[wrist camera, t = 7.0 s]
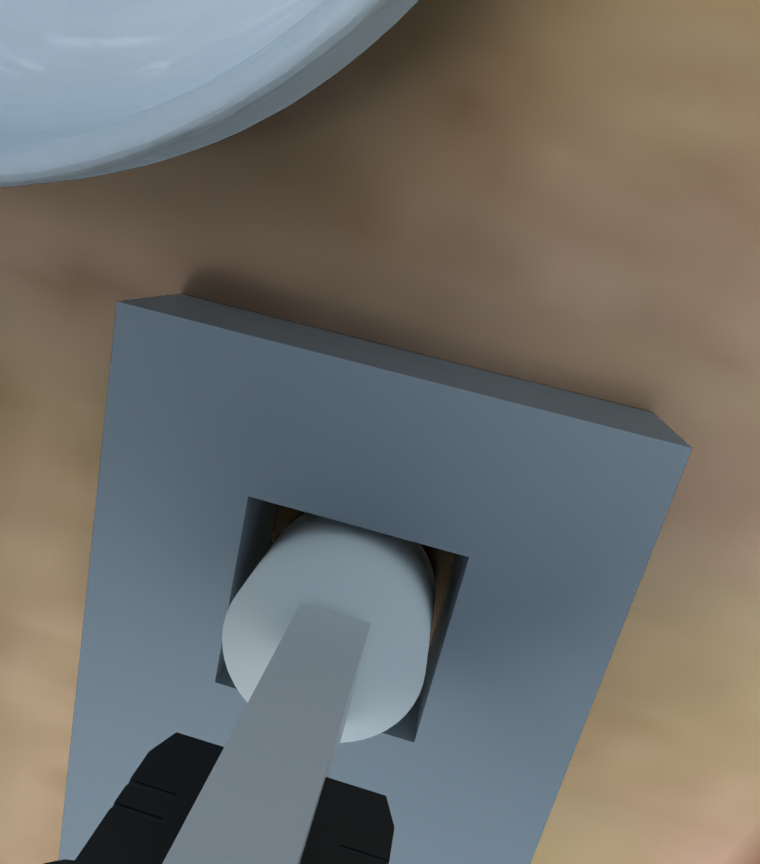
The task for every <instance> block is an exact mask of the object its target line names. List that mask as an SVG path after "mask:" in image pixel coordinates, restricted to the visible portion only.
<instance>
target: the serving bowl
mask: <svg viewBox="0 0 760 864" xmlns="http://www.w3.org/2000/svg"><path fill="white" fill-rule="evenodd" d="M418 1H419V0H0V187H10V186H21V185H30V184H39V183H48V182H57V181H66V180H75V179H83V178H89V177H94V176H100V175H105V174H111V173H115V172H120V171H124V170H129V169H133V168H138V167H142V166H147V165H151V164H154V163H157V162H160V161H164V160H167V159H170V158H173V157H176V156H179V155H182V154H185V153H188V152H191V151H194V150H197V149H199V148H202V147H205V146H208V145H210V144H213V143H216V142H218V141H220V140H223V139H225V138H227V137H229V136H232V135H234V134H236V133H238V132H241V131H243V130H245V129H247V128H249V127H250V126H252V125H254V124H256V123H258V122H260V121H262V120H264V119H266V118H267V117H269V116H271V115H273V114H275V113H277V112H279V111H281V110H283V109H284V108H286V107H288V106H290V105H291V104H293V103H294V102H296V101H297V100H299V99H300V98H302V97H303V96H305V95H306V94H308V93H309V92H311V91H312V90H314V89H315V88H316V87H318V86H319V85H321V84H322V83H324V82H325V81H327V80H328V79H329V78H331V77H332V76H334V75H335V74H336V73H338V72H339V71H340V70H341V69H343V68H344V67H345V66H346V65H348V64H349V63H350V62H351V61H353V60H354V59H355V58H357V57H358V56H359V55H360V54H362V53H363V52H364V51H365V50H367V49H368V48H369V47H370V46H371V45H372V44H373V43H374V42H376V41H377V40H378V39H379V38H380V37H381V36H382V35H383V34H385V33H386V32H387V31H388V30H389V29H390V28H391V27H392V26H393V25H395V24H396V23H397V22H398V21H399V20H400V19H401V18H402V17H403V16H404V15H405V14H406V13H407V12H408V11H409V10H410V9H411V8H412V7H413V6H414V5H415V4H416V3H417V2H418Z"/></svg>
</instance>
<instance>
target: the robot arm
mask: <svg viewBox="0 0 760 864" xmlns="http://www.w3.org/2000/svg"><path fill="white" fill-rule="evenodd" d="M370 625H371V623H367V622H364V621H360V620H357V619H354V618H350V617H347V616H343V615H340V614H336V613H333V612H330V611H326V610H323V609H319V608H316V607H312V606H309V605H305V604H302V603H300V605H299V607H298V609H297V611H296V613H295V615H294V616H293V618H292V620H291V622H290V624H289V626H288V628H287V630H286V632H285V633H284V635H283V637H282V639H281V641H280V643H279V645H278V647H277V648H276V650H275V652H274V654H273V656H272V658H271V660H270V662H269V664H268V665H267V667H266V669H265V671H264V673H263V675H262V677H261V679H260V681H259V682H258V684H257V686H256V688H255V690H254V692H253V694H252V696H251V697H250V699H249V701H248V703H247V705H246V707H245V709H244V711H243V713H242V714H241V716H240V718H239V720H238V722H237V724H236V726H235V728H234V730H233V731H232V733H231V735H230V737H229V739H228V741H227V743H226V745H225V747H222V746H219V745H216V744H213V743H210V742H206V741H203V740H200V739H197V738H194V737H190V736H187V735H184V734H181V733H178V732H176V733H174V734H173V735H172V736H170V737H169V738H167V739H166V740H164V741H163V742H162V743H160V744H159V745H157V746H156V747H154V748H153V749H152V750H150V751H149V752H148V753H147V755H146V756H145V758H144V759H143V761H142V762H141V764H140V765H139V767H138V768H137V770H136V771H135V772H134V774H133V775H132V777H131V778H130V781H129V783H128V785H127V784H126V786H125V787H124V789H123V790H122V792H121V793H120V795H119V796H118V797H117V799H116V800H115V802H114V805H113V807H112V808H110V809H109V811H108V812H107V814H106V815H105V817H104V818H103V820H102V821H101V822H100V824H99V825H98V827H97V828H96V830H95V831H94V833H93V834H92V836H91V837H90V839H89V840H88V842H87V843H86V845H85V846H84V847H83V849H82V850H81V852H80V853H79V855H78V856H77V858H76V859H75V860H67V859H63V860H59V861H54V862H49V863H44V864H389V860H390V853H391V847H392V840H393V834H394V824H393V820H392V816H391V812H390V809H389V805H388V801H387V797H386V796H385V795H382V794H379V793H376V792H373V791H370V790H366V789H363V788H360V787H357V786H354V785H350V784H347V783H344V782H341V781H338V780H334V779H331V778H330V775H331V772H332V768H333V765H334V761H335V758H336V755H337V751H338V748H339V744H340V741H341V738H342V734H343V731H344V727H345V723H346V719H347V715H348V711H349V707H350V703H351V699H352V696H353V692H354V688H355V684H356V680H357V676H358V672H359V668H360V664H361V660H362V657H363V653H364V649H365V645H366V641H367V637H368V633H369V629H370Z"/></svg>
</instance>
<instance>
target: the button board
mask: <svg viewBox="0 0 760 864" xmlns="http://www.w3.org/2000/svg"><path fill="white" fill-rule="evenodd" d="M691 450H692V447H690V446H689V445H688V444H687V443H686V442H685V441H684V440H683V439H682V438H680V437H679V436H678V435H677V434H676V433H675V432H674V431H673V430H671V429H670V428H669V427H668V426H667V425H666V424H665V423H664V422H663V421H661V420H660V419H659V418H658V417H657V416H656V415H655V414H654V413H653V412H649V411H645V410H641V409H637V408H633V407H629V406H625V405H621V404H617V403H613V402H609V401H605V400H601V399H597V398H593V397H589V396H585V395H581V394H577V393H573V392H569V391H565V390H561V389H557V388H553V387H549V386H545V385H541V384H537V383H533V382H529V381H525V380H521V379H517V378H513V377H509V376H505V375H502V374H498V373H494V372H490V371H486V370H482V369H478V368H474V367H470V366H466V365H462V364H458V363H454V362H450V361H446V360H442V359H438V358H434V357H430V356H426V355H422V354H418V353H414V352H410V351H406V350H402V349H398V348H394V347H390V346H386V345H382V344H378V343H374V342H370V341H366V340H362V339H358V338H354V337H350V336H346V335H342V334H338V333H334V332H331V331H327V330H323V329H319V328H315V327H311V326H307V325H303V324H299V323H295V322H291V321H287V320H283V319H279V318H275V317H271V316H267V315H263V314H259V313H255V312H251V311H247V310H243V309H239V308H235V307H231V306H227V305H223V304H219V303H215V302H211V301H207V300H203V299H199V298H195V297H191V296H187V295H183V294H175V295H166V296H158V297H150V298H141V299H133V300H125V301H117V305H116V314H115V324H114V333H113V343H112V353H111V362H110V372H109V381H108V391H107V400H106V410H105V420H104V429H103V439H102V448H101V458H100V467H99V477H98V487H97V496H96V506H95V515H94V525H93V534H92V544H91V554H90V563H89V573H88V582H87V592H86V601H85V611H84V621H83V630H82V640H81V649H80V659H79V669H78V678H77V688H76V697H75V707H74V716H73V726H72V736H71V745H70V755H69V764H68V774H67V783H66V793H65V803H64V812H63V822H62V831H61V841H60V850H59V860H63V859H67V860H75V859H76V858H77V856H78V855H79V853H80V852H81V850H82V849H83V847H84V846H85V845H86V843H87V842H88V840H89V839H90V837H91V836H92V834H93V833H94V831H95V830H96V828H97V827H98V825H99V824H100V822H101V821H102V820H103V818H104V817H105V815H106V814H107V812H108V811H109V809H110V808H112V807H113V805H114V802H115V800H116V799H117V797H118V796H119V795H120V793H121V792H122V790H123V789H124V787H125V786H126V784H127V785H128V783H129V781H130V778H131V777H132V775H133V774H134V772H135V771H136V770H137V768H138V767H139V765H140V764H141V762H142V761H143V759H144V758H145V756H146V755H147V753H148V752H149V751H150V750H152V749H153V748H154V747H156V746H157V745H159V744H160V743H162V742H163V741H164V740H166V739H167V738H169V737H170V736H172V735H173V734H174V733H176V732H178V733H181V734H184V735H187V736H190V737H194V738H197V739H200V740H203V741H206V742H210V743H213V744H216V745H219V746H222V747H225V745H226V743H227V741H228V739H229V737H230V735H231V733H232V731H233V730H234V728H235V726H236V724H237V722H238V720H239V718H240V716H241V714H242V713H243V711H244V709H245V707H246V705H247V702H246V700H245V699H244V698H243V697H242V695H241V694H240V693H239V691H238V690H237V688H236V686H235V685H234V683H233V681H232V679H231V677H230V675H229V673H228V670H227V667H226V663H225V660H224V655H223V649H222V632H223V624H224V621H225V617H226V613H227V611H228V609H229V606H230V604H231V602H232V601H233V599H234V598H235V596H236V594H237V593H238V592H239V590H240V589H241V587H242V586H243V585H244V583H245V582H246V580H247V579H248V578H249V576H250V575H251V574H252V572H253V571H254V569H255V568H256V567H257V565H258V564H259V563H260V561H261V560H262V558H263V557H264V556H265V554H266V553H267V551H268V550H269V546H270V541H271V536H272V531H273V526H274V521H275V516H276V511H277V505H281V506H285V507H289V508H292V509H296V510H300V511H303V512H307V513H310V514H314V515H318V516H321V517H325V518H329V519H332V520H336V521H339V522H343V523H347V524H350V525H354V526H358V527H361V528H365V529H368V530H372V531H376V532H379V533H383V534H387V535H390V536H394V537H397V538H401V539H405V540H408V541H412V542H415V543H419V544H423V545H426V546H430V547H434V548H437V549H441V550H444V551H448V552H452V553H455V554H457V556H456V559H455V563H454V566H453V570H452V573H451V576H450V580H449V583H448V587H447V590H446V594H445V597H444V601H443V604H442V607H441V611H440V614H439V618H438V621H437V625H436V628H435V631H434V635H433V638H432V642H431V645H430V649H429V652H428V657H427V665H426V672H425V677H424V682H423V686H422V688H421V691H420V694H419V696H418V698H417V700H416V701H415V703H414V705H413V706H412V708H411V709H410V710H409V711H408V713H407V714H406V715H405V716H404V717H403V718H402V719H401V720H400V721H399V722H398V723H396V724H395V725H393V726H392V727H390V728H389V729H388V730H386V731H384V732H382V733H380V734H378V735H376V736H373V737H370V738H367V739H364V740H359V741H354V742H345V743H340V744H339V748H338V751H337V755H336V758H335V761H334V765H333V768H332V772H331V775H330V778H331V779H334V780H338V781H341V782H344V783H347V784H350V785H354V786H357V787H360V788H363V789H366V790H370V791H373V792H376V793H379V794H382V795H385V796H386V797H387V801H388V805H389V809H390V812H391V816H392V820H393V824H394V834H393V840H392V847H391V853H390V860H389V864H530V863H531V860H532V858H533V855H534V852H535V850H536V847H537V845H538V842H539V840H540V837H541V834H542V832H543V829H544V827H545V824H546V822H547V819H548V816H549V814H550V811H551V809H552V806H553V804H554V801H555V799H556V796H557V793H558V791H559V788H560V786H561V783H562V781H563V778H564V775H565V773H566V770H567V768H568V765H569V763H570V760H571V757H572V755H573V752H574V750H575V747H576V745H577V742H578V739H579V737H580V734H581V732H582V729H583V727H584V724H585V722H586V719H587V716H588V714H589V711H590V709H591V706H592V704H593V701H594V698H595V696H596V693H597V691H598V688H599V686H600V683H601V680H602V678H603V675H604V673H605V670H606V668H607V665H608V663H609V660H610V657H611V655H612V652H613V650H614V647H615V645H616V642H617V639H618V637H619V634H620V632H621V629H622V627H623V624H624V621H625V619H626V616H627V614H628V611H629V609H630V606H631V604H632V601H633V598H634V596H635V593H636V591H637V588H638V586H639V583H640V580H641V578H642V575H643V573H644V570H645V568H646V565H647V562H648V560H649V557H650V555H651V552H652V550H653V547H654V545H655V542H656V539H657V537H658V534H659V532H660V529H661V527H662V524H663V521H664V519H665V516H666V514H667V511H668V509H669V506H670V503H671V501H672V498H673V496H674V493H675V491H676V488H677V486H678V483H679V480H680V478H681V475H682V473H683V470H684V468H685V465H686V462H687V460H688V457H689V455H690V452H691ZM59 860H58V861H59Z"/></svg>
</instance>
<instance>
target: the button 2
mask: <svg viewBox="0 0 760 864" xmlns="http://www.w3.org/2000/svg"><path fill="white" fill-rule="evenodd" d="M435 591H436V587H435V578H434V573H433V569H432V566H431V563H430V561H429V558H428V556H427V554H426V553H425V551H424V549H423V547H422V546H421V545H420V544H419V543H415V542H412V541H408V540H405V539H401V538H397V537H394V536H390V535H387V534H383V533H379V532H376V531H372V530H368V529H365V528H361V527H358V526H354V525H350V524H347V523H343V522H339V521H336V520H332V519H329V518H325V517H321V516H318V515H314V514H310V513H305V514H303V515H301V516H300V517H298V518H297V519H295V520H294V521H293V522H291V523H290V524H289V525H288V526H287V527H286V528H285V529H284V530H283V531H282V532H281V534H280V535H279V536H278V538H277V539H276V540H275V542H274V543H273V545H272V546H271V547H270V549H269V550H268V551H267V553H266V554H265V556H264V557H263V558H262V560H261V561H260V563H259V564H258V565H257V567H256V568H255V569H254V571H253V572H252V574H251V575H250V576H249V578H248V579H247V580H246V582H245V583H244V585H243V586H242V587H241V589H240V590H239V592H238V593H237V594H236V596H235V598H234V599H233V601H232V602H231V604H230V606H229V609H228V611H227V613H226V617H225V621H224V624H223V632H222V649H223V655H224V660H225V663H226V667H227V670H228V673H229V675H230V677H231V679H232V681H233V683H234V685H235V686H236V688H237V690H238V691H239V693H240V694H241V695H242V697H243V698H244V699H245V700H246V702H247V703H248V701H249V699H250V697H251V696H252V694H253V692H254V690H255V688H256V686H257V684H258V682H259V681H260V679H261V677H262V675H263V673H264V671H265V669H266V667H267V665H268V664H269V662H270V660H271V658H272V656H273V654H274V652H275V650H276V648H277V647H278V645H279V643H280V641H281V639H282V637H283V635H284V633H285V632H286V630H287V628H288V626H289V624H290V622H291V620H292V618H293V616H294V615H295V613H296V611H297V609H298V607H299V605H300V603H302V604H305V605H309V606H312V607H316V608H319V609H323V610H326V611H330V612H333V613H336V614H340V615H343V616H347V617H350V618H354V619H357V620H360V621H364V622H367V623H371V625H370V629H369V633H368V637H367V641H366V645H365V649H364V653H363V657H362V660H361V664H360V668H359V672H358V676H357V680H356V684H355V688H354V692H353V696H352V699H351V703H350V707H349V711H348V715H347V719H346V723H345V727H344V731H343V734H342V738H341V741H340V743H345V742H354V741H359V740H364V739H367V738H370V737H373V736H376V735H378V734H380V733H382V732H384V731H386V730H388V729H389V728H390V727H392V726H393V725H395V724H396V723H398V722H399V721H400V720H401V719H402V718H403V717H404V716H405V715H406V714H407V713H408V711H409V710H410V709H411V708H412V706H413V705H414V703H415V701H416V700H417V698H418V696H419V694H420V691H421V688H422V686H423V682H424V677H425V672H426V665H427V657H428V649H429V642H430V634H431V626H432V619H433V611H434V603H435Z"/></svg>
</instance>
